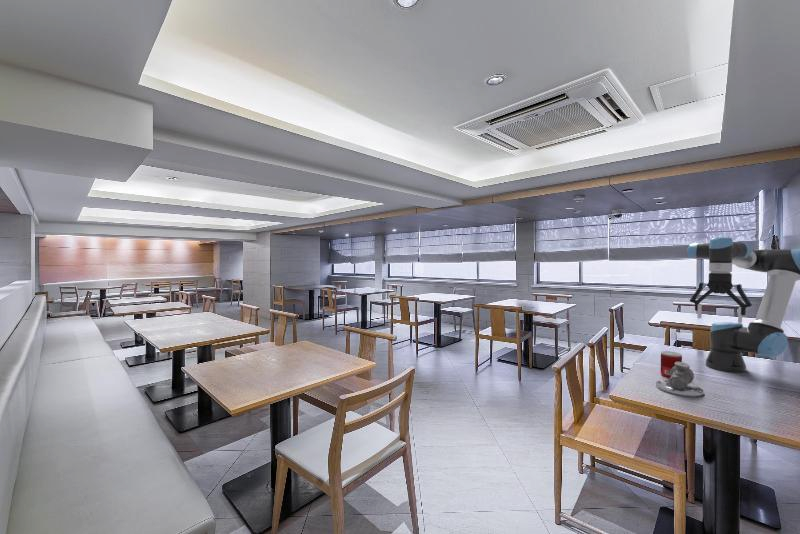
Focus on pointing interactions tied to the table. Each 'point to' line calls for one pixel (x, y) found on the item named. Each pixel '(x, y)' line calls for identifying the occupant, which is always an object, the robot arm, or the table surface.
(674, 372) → the pipe fitting
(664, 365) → the canned food
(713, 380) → the table surface
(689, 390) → the duct flange
